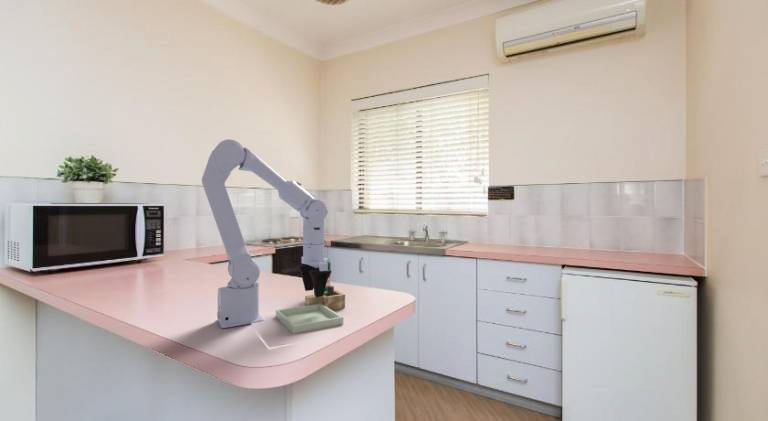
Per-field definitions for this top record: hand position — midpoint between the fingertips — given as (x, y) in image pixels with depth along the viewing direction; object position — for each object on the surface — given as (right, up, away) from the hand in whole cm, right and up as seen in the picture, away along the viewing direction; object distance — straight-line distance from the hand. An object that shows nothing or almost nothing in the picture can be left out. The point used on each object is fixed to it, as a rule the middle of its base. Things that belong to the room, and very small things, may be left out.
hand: (314, 293), depth 98 cm
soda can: (0, -5, +13) cm, 14 cm away
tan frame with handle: (+2, -4, +2) cm, 5 cm away
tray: (0, -5, -9) cm, 11 cm away
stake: (+4, -5, +3) cm, 7 cm away
